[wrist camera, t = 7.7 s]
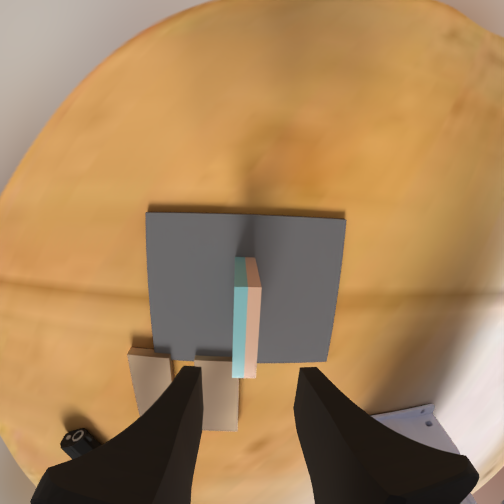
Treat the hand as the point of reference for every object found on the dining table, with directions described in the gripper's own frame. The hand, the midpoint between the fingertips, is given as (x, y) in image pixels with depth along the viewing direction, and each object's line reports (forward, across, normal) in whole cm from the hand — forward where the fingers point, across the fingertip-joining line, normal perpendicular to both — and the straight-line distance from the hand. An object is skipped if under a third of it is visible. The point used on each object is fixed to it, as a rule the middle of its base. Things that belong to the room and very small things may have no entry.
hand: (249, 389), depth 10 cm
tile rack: (+9, +4, +8) cm, 13 cm away
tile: (+9, 0, 0) cm, 9 cm away
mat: (+9, 0, 0) cm, 9 cm away
